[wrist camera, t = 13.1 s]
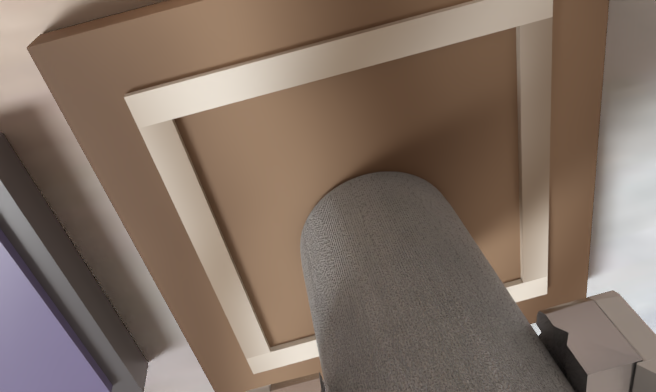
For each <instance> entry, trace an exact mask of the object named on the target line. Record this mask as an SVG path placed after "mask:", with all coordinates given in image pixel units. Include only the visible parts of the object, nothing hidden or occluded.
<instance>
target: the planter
mask: <svg viewBox="0 0 656 392" xmlns="http://www.w3.org/2000/svg"><path fill="white" fill-rule="evenodd" d="M300 253H301V263H302V269H303V274H304V280H305V285H306V290H307V295H308V301H309V306H310V311H311V316H312V321H313V327H314V332H315V337H316V342H317V347H318V353H319V358H320V363H321V368H322V373H323V379H324V384H325V389H326V392H575V391H574V389H573V388H572V386H571V385H570V383H569V382H568V380H567V379H566V377H565V376H564V374H563V373H562V371H561V370H560V368H559V367H558V365H557V364H556V362H555V361H554V359H553V358H552V356H551V355H550V353H549V352H548V350H547V349H546V347H545V346H544V344H543V343H542V341H541V340H540V338H539V337H538V335H537V334H536V332H535V331H534V329H533V328H532V326H531V325H530V323H529V322H528V320H527V319H526V317H525V316H524V314H523V313H522V311H521V310H520V308H519V307H518V305H517V304H516V302H515V301H514V299H513V298H512V296H511V295H510V293H509V292H508V290H507V289H506V287H505V286H504V284H503V283H502V281H501V280H500V278H499V277H498V275H497V274H496V272H495V271H494V269H493V268H492V266H491V265H490V263H489V262H488V260H487V259H486V257H485V256H484V254H483V253H482V251H481V250H480V248H479V247H478V245H477V244H476V242H475V241H474V239H473V238H472V236H471V235H470V233H469V232H468V230H467V229H466V227H465V226H464V224H463V223H462V221H461V220H460V218H459V217H458V215H457V214H456V212H455V211H454V209H453V208H452V206H451V205H450V204H449V202H448V201H447V200H446V199H445V197H444V196H443V195H442V194H441V192H440V191H439V190H438V189H437V188H436V187H434V186H433V185H432V184H430V183H429V182H427V181H426V180H424V179H422V178H420V177H417V176H414V175H411V174H407V173H402V172H375V173H370V174H366V175H362V176H359V177H356V178H353V179H351V180H349V181H347V182H345V183H343V184H341V185H339V186H338V187H336V188H335V189H333V190H332V191H330V192H329V193H328V194H327V195H325V196H324V197H323V198H322V199H321V200H320V201H319V202H318V203H317V205H316V206H315V207H314V208H313V210H312V211H311V213H310V214H309V216H308V218H307V220H306V222H305V224H304V227H303V230H302V234H301V240H300Z"/></svg>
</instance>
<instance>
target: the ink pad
mask: <svg viewBox="0 0 656 392" xmlns="http://www.w3.org/2000/svg"><path fill="white" fill-rule="evenodd" d="M147 368H148V362H147V361H146V359H145V358H144V356H143V354H142V353H141V351H140V350H139V348H138V347H137V345H136V343H135V342H134V340H133V339H132V337H131V335H130V334H129V332H128V331H127V329H126V328H125V326H124V324H123V323H122V321H121V320H120V318H119V316H118V315H117V313H116V312H115V310H114V309H113V307H112V305H111V304H110V302H109V301H108V299H107V297H106V296H105V294H104V293H103V291H102V290H101V288H100V286H99V285H98V283H97V282H96V280H95V278H94V277H93V275H92V274H91V272H90V271H89V269H88V267H87V266H86V264H85V263H84V261H83V259H82V258H81V256H80V255H79V253H78V252H77V250H76V248H75V247H74V245H73V244H72V242H71V240H70V239H69V237H68V236H67V234H66V233H65V231H64V229H63V228H62V226H61V225H60V223H59V221H58V220H57V218H56V217H55V215H54V214H53V212H52V210H51V209H50V207H49V206H48V204H47V203H46V201H45V199H44V198H43V196H42V195H41V193H40V191H39V190H38V188H37V187H36V185H35V184H34V182H33V180H32V179H31V177H30V176H29V174H28V172H27V171H26V169H25V168H24V166H23V165H22V163H21V161H20V160H19V158H18V157H17V155H16V153H15V152H14V150H13V149H12V147H11V146H10V144H9V142H8V141H7V139H6V138H5V136H4V134H3V133H1V134H0V392H144V386H145V380H146V374H147Z"/></svg>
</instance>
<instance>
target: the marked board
mask: <svg viewBox="0 0 656 392" xmlns="http://www.w3.org/2000/svg"><path fill="white" fill-rule="evenodd" d="M608 7H609V0H167V1H164V2H160V3H156V4H152V5H149V6H145V7H141V8H137V9H134V10H130V11H126V12H122V13H119V14H115V15H111V16H107V17H104V18H100V19H96V20H92V21H89V22H85V23H81V24H77V25H74V26H70V27H66V28H62V29H59V30H55V31H51V32H47V33H44V34H40V35H39V36H38V37H37V38H36V39H35V40H34V41H33V42H32V43H31V44H30V45H29V46H28V47H27V50H28V51H29V53H30V55H31V57H32V59H33V61H34V62H35V64H36V66H37V68H38V70H39V71H40V73H41V75H42V77H43V79H44V81H45V82H46V84H47V86H48V88H49V90H50V92H51V93H52V95H53V97H54V99H55V101H56V102H57V104H58V106H59V108H60V110H61V112H62V113H63V115H64V117H65V119H66V121H67V123H68V124H69V126H70V128H71V130H72V132H73V134H74V135H75V137H76V139H77V141H78V143H79V144H80V146H81V148H82V150H83V152H84V154H85V155H86V157H87V159H88V161H89V163H90V165H91V166H92V168H93V170H94V172H95V174H96V175H97V177H98V179H99V181H100V183H101V185H102V186H103V188H104V190H105V192H106V194H107V196H108V197H109V199H110V201H111V203H112V205H113V207H114V208H115V210H116V212H117V214H118V216H119V217H120V219H121V221H122V223H123V225H124V227H125V228H126V230H127V232H128V234H129V236H130V238H131V239H132V241H133V243H134V245H135V247H136V249H137V250H138V252H139V254H140V256H141V258H142V259H143V261H144V263H145V265H146V267H147V269H148V270H149V272H150V274H151V276H152V278H153V280H154V281H155V283H156V285H157V287H158V289H159V290H160V292H161V294H162V296H163V298H164V300H165V301H166V303H167V305H168V307H169V309H170V311H171V312H172V314H173V316H174V318H175V320H176V322H177V323H178V325H179V327H180V329H181V331H182V332H183V334H184V336H185V338H186V340H187V342H188V343H189V345H190V347H191V349H192V351H193V353H194V354H195V356H196V358H197V360H198V362H199V363H200V365H201V367H202V369H203V371H204V373H205V374H206V376H207V378H208V380H209V382H210V384H211V385H212V387H213V389H214V391H215V392H246V391H248V390H252V389H255V388H259V387H263V386H267V385H270V384H274V383H278V382H283V381H287V380H291V379H295V378H299V377H303V376H307V375H311V374H315V373H319V372H320V374H321V376H322V379H323V373H322V368H321V363H320V358H319V353H318V347H317V342H316V337H315V332H314V327H313V321H312V316H311V311H310V306H309V301H308V295H307V290H306V285H305V280H304V274H303V269H302V263H301V253H300V240H301V234H302V230H303V227H304V224H305V222H306V220H307V218H308V216H309V214H310V213H311V211H312V210H313V208H314V207H315V206H316V205H317V203H318V202H319V201H320V200H321V199H322V198H323V197H324V196H325V195H327V194H328V193H329V192H330V191H332V190H333V189H335V188H336V187H338V186H339V185H341V184H343V183H345V182H347V181H349V180H351V179H353V178H356V177H359V176H362V175H366V174H370V173H375V172H402V173H407V174H411V175H414V176H417V177H420V178H422V179H424V180H426V181H427V182H429V183H430V184H432V185H433V186H434V187H436V188H437V189H438V190H439V191H440V192H441V194H442V195H443V196H444V197H445V199H446V200H447V201H448V202H449V204H450V205H451V206H452V208H453V209H454V211H455V212H456V214H457V215H458V217H459V218H460V220H461V221H462V223H463V224H464V226H465V227H466V229H467V230H468V232H469V233H470V235H471V236H472V238H473V239H474V241H475V242H476V244H477V245H478V247H479V248H480V250H481V251H482V253H483V254H484V256H485V257H486V259H487V260H488V262H489V263H490V265H491V266H492V268H493V269H494V271H495V272H496V274H497V275H498V277H499V278H500V280H501V281H502V283H503V284H504V286H505V287H506V289H507V290H508V292H509V293H510V295H511V296H512V298H513V299H514V301H515V302H516V304H517V305H518V307H519V308H520V310H521V311H522V313H523V314H524V316H525V317H526V319H527V320H528V322H529V323H530V324H532V323H536V321H537V314H538V312H539V311H540V310H544V309H547V308H550V307H554V306H557V305H561V304H564V303H568V302H571V301H574V300H578V299H581V298H586V293H587V280H588V267H589V254H590V241H591V228H592V215H593V202H594V189H595V176H596V163H597V150H598V137H599V124H600V111H601V98H602V85H603V72H604V59H605V46H606V33H607V20H608ZM323 381H324V379H323Z"/></svg>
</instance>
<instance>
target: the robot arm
mask: <svg viewBox="0 0 656 392" xmlns="http://www.w3.org/2000/svg"><path fill="white" fill-rule="evenodd" d="M536 324H537V326H538V327H539V329H540V330H541V334H540V335H539V336H538V337H539V338H540V340H541V341H542V343H543V344H544V346H545V347H546V349H547V350H548V352H549V353H550V355H551V356H552V358H553V359H554V361H555V362H556V364H557V365H558V367H559V368H560V370H561V371H562V373H563V374H564V376H565V377H566V379H567V380H568V382H569V383H570V385H571V386H572V388H573V389H574V391H575V392H656V334H655V333H654V332H653V331H652V330H651V329H650V327H649V326H648V325H647V324H646V323H645V322H644V321H643V320H642V319H641V317H640V316H639V315H638V314H637V313H636V312H635V311H634V310H633V309H632V308H631V306H630V305H629V304H628V303H627V302H626V301H625V300H624V299H623V298H622V296H621V295H620V294H619V293H617V292H615V291H608V292H605V293H601V294H598V295H594V296H591V297H588V298H581V299H578V300H574V301H571V302H568V303H564V304H561V305H557V306H554V307H550V308H547V309H544V310H540V311H539V312H538V314H537V321H536ZM246 392H326V391H325V385H324V381H323V379H322V376H321V374H320V372H319V373H315V374H311V375H307V376H303V377H299V378H295V379H291V380H287V381H283V382H278V383H274V384H270V385H267V386H263V387H259V388H255V389H252V390H248V391H246Z"/></svg>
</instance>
